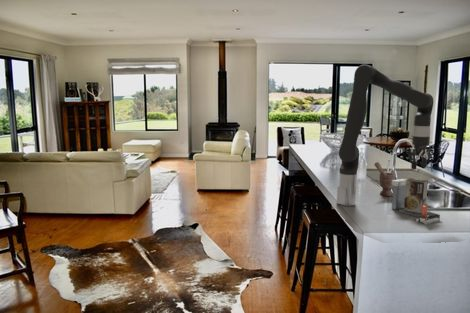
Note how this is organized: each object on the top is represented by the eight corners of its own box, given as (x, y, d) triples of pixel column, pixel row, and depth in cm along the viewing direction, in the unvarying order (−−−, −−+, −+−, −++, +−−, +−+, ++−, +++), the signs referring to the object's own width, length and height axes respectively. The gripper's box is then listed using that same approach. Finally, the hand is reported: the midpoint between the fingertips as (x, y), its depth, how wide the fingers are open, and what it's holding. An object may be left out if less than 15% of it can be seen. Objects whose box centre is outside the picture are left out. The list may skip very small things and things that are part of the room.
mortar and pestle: (378, 197, 224) (380, 164, 221) (370, 193, 233) (373, 161, 230) (396, 196, 226) (398, 163, 223) (388, 192, 235) (390, 161, 231)
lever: (424, 223, 179) (425, 206, 178) (419, 221, 182) (420, 205, 180) (427, 222, 181) (428, 206, 179) (422, 221, 183) (423, 204, 181)
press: (425, 224, 178) (428, 192, 175) (380, 210, 199) (382, 182, 196) (446, 218, 187) (449, 187, 185) (401, 205, 208) (403, 178, 205)
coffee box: (426, 211, 195) (428, 180, 192) (421, 214, 190) (424, 182, 187) (407, 207, 201) (410, 177, 198) (403, 210, 196) (405, 179, 194)
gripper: (420, 136, 177) (417, 171, 179) (437, 135, 184) (434, 167, 187) (405, 135, 183) (403, 168, 185) (422, 133, 191) (419, 165, 193)
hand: (418, 168), depth 186 cm, fingers open, 8 cm apart
